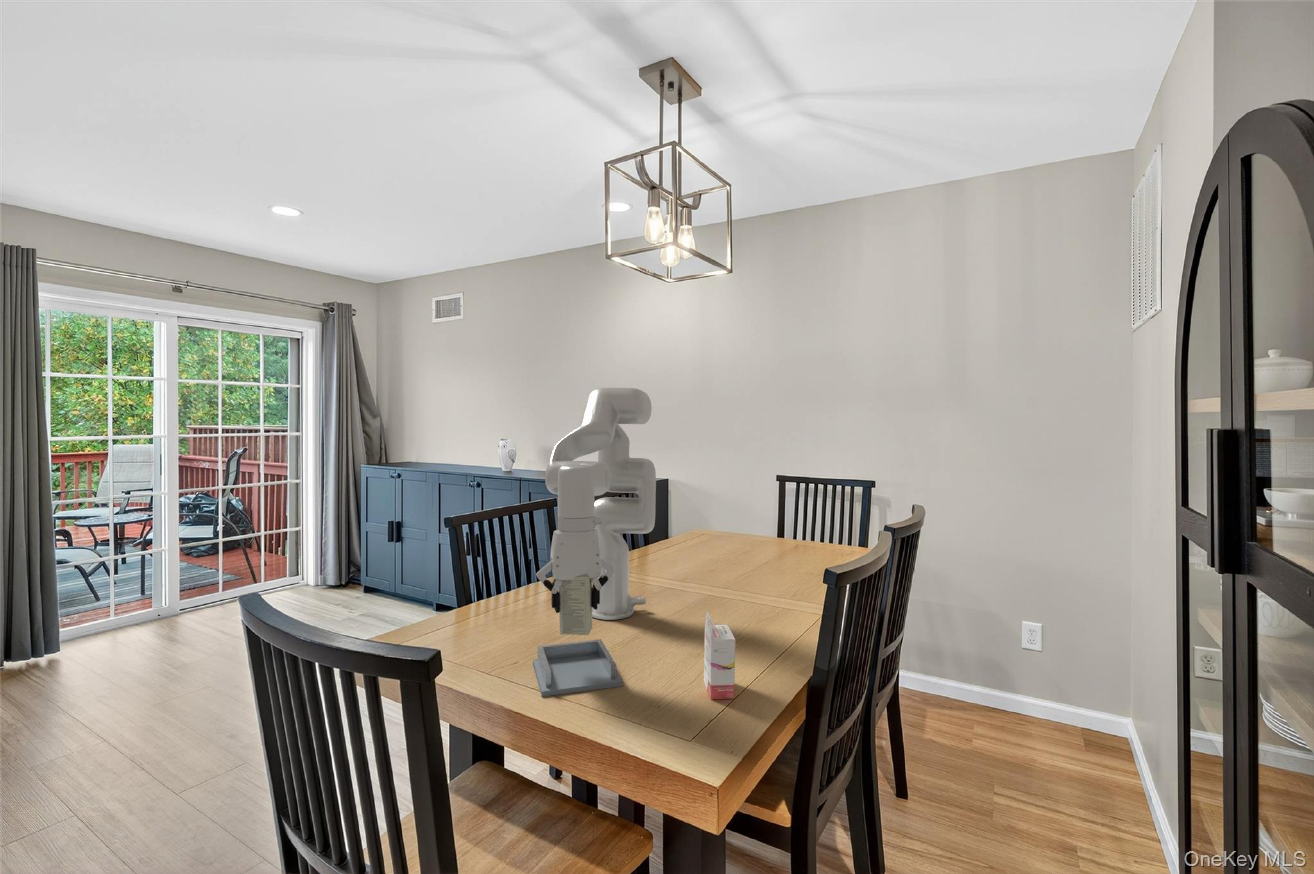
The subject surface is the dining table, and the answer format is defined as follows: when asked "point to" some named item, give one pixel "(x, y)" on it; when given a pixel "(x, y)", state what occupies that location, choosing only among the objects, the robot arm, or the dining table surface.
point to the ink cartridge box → (719, 660)
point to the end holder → (575, 668)
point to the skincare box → (576, 606)
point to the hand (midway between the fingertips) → (575, 608)
